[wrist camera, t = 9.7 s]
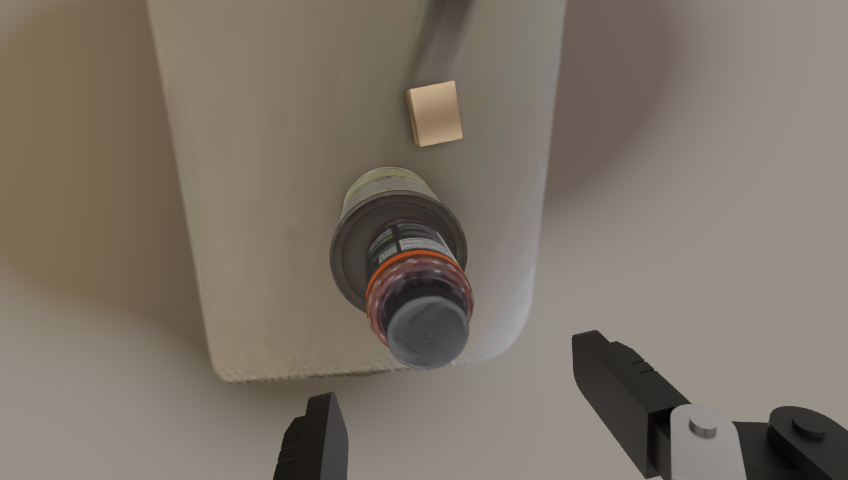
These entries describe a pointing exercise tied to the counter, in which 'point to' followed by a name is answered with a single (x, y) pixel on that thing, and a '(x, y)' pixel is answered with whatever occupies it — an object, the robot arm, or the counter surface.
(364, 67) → the counter surface
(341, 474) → the robot arm
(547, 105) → the counter surface
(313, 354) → the counter surface
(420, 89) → the tan metallic cube
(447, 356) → the supplement bottle
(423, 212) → the coffee can
